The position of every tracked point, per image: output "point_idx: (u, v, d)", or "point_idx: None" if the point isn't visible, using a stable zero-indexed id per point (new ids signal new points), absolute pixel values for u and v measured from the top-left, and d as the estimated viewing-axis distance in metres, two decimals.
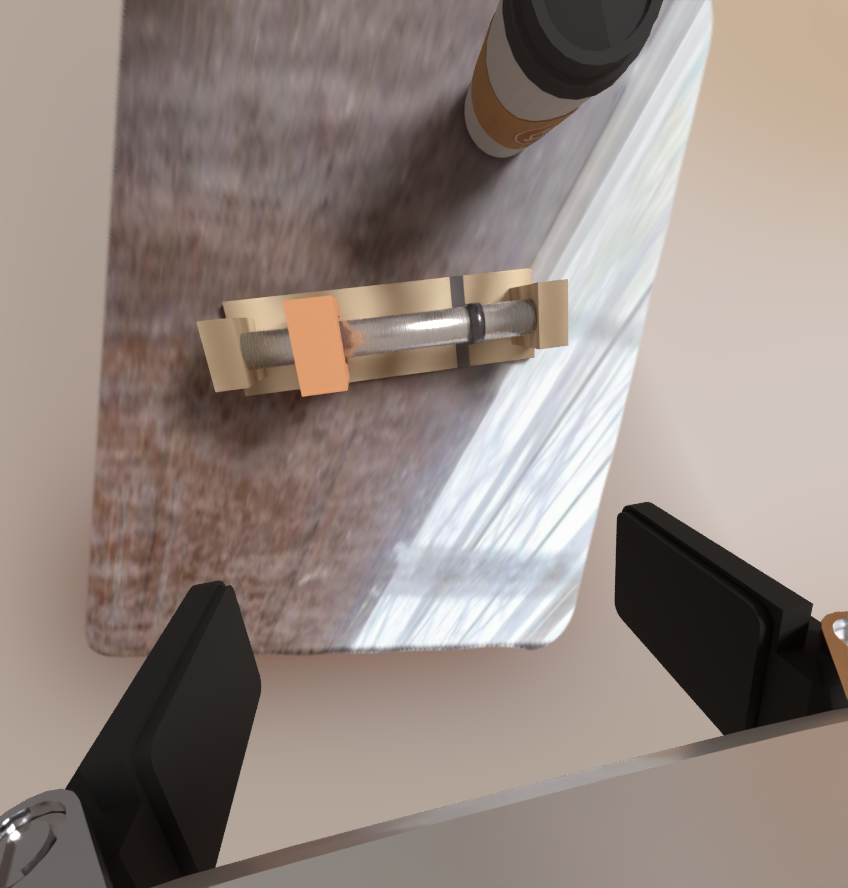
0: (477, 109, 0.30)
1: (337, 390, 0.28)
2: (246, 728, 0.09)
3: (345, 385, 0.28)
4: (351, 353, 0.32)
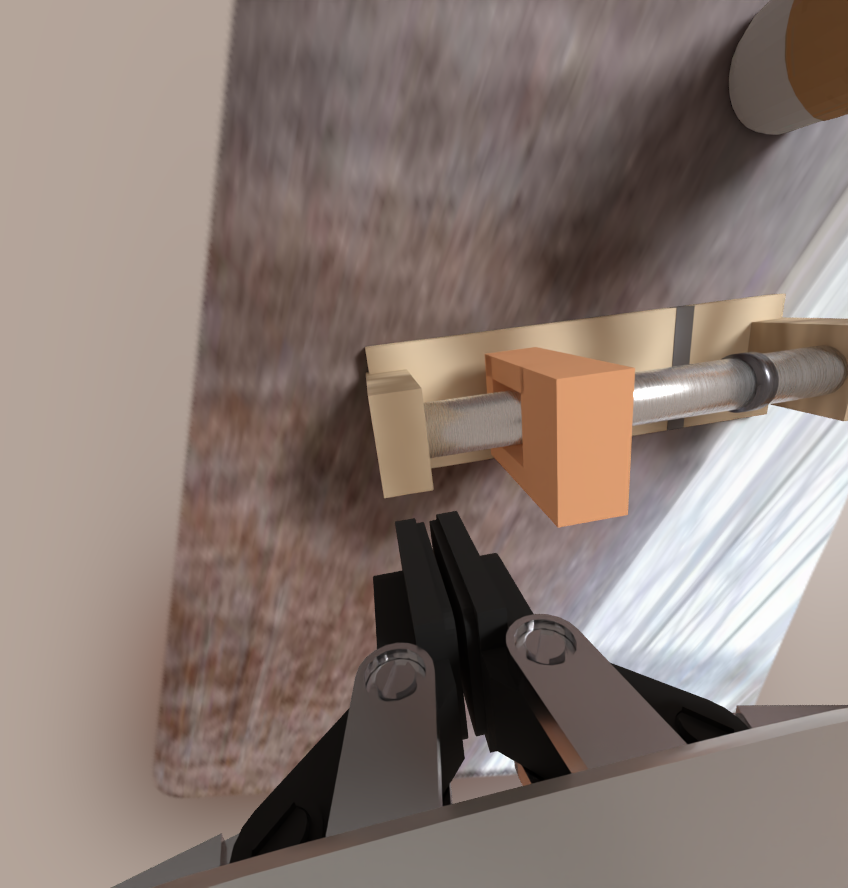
0: (799, 55, 0.19)
1: (612, 515, 0.17)
2: None
3: (626, 507, 0.17)
4: None
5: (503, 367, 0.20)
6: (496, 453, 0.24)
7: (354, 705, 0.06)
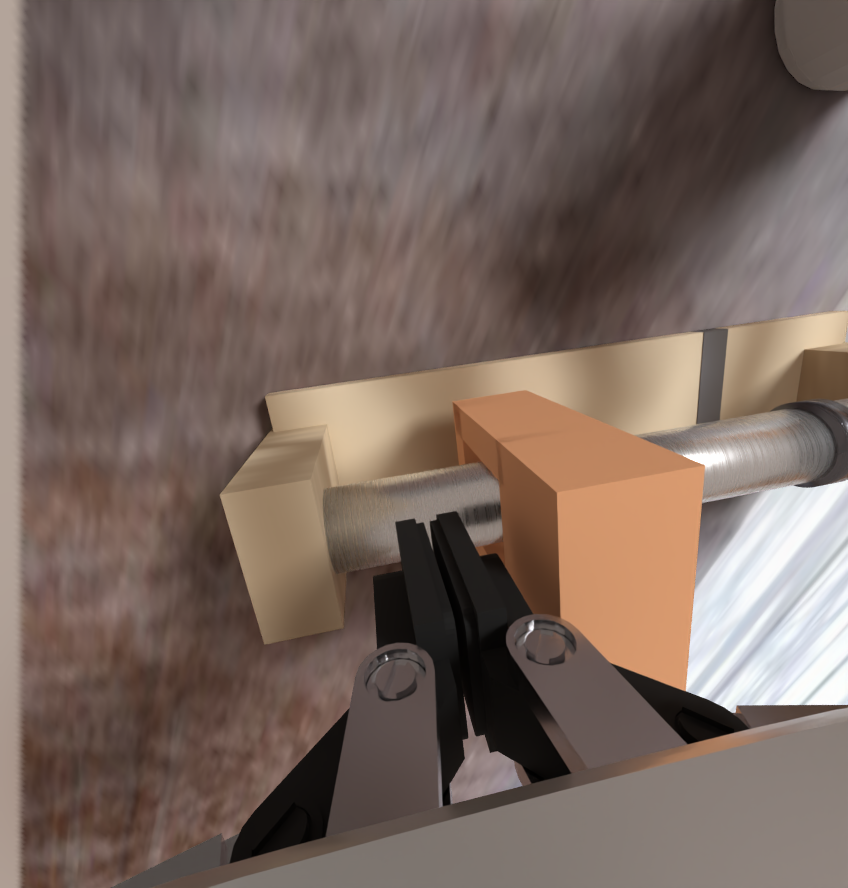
0: None
1: None
2: None
3: None
4: None
5: (474, 430, 0.13)
6: None
7: (354, 705, 0.06)
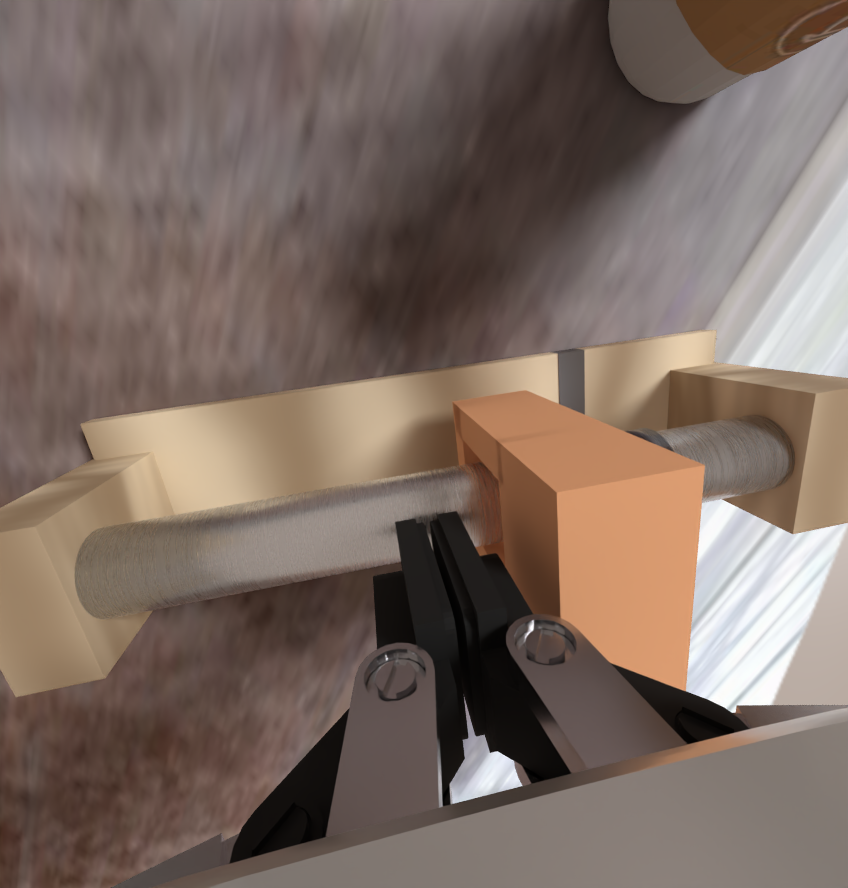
0: None
1: None
2: None
3: None
4: (363, 568, 0.13)
5: (474, 430, 0.13)
6: None
7: (354, 705, 0.06)
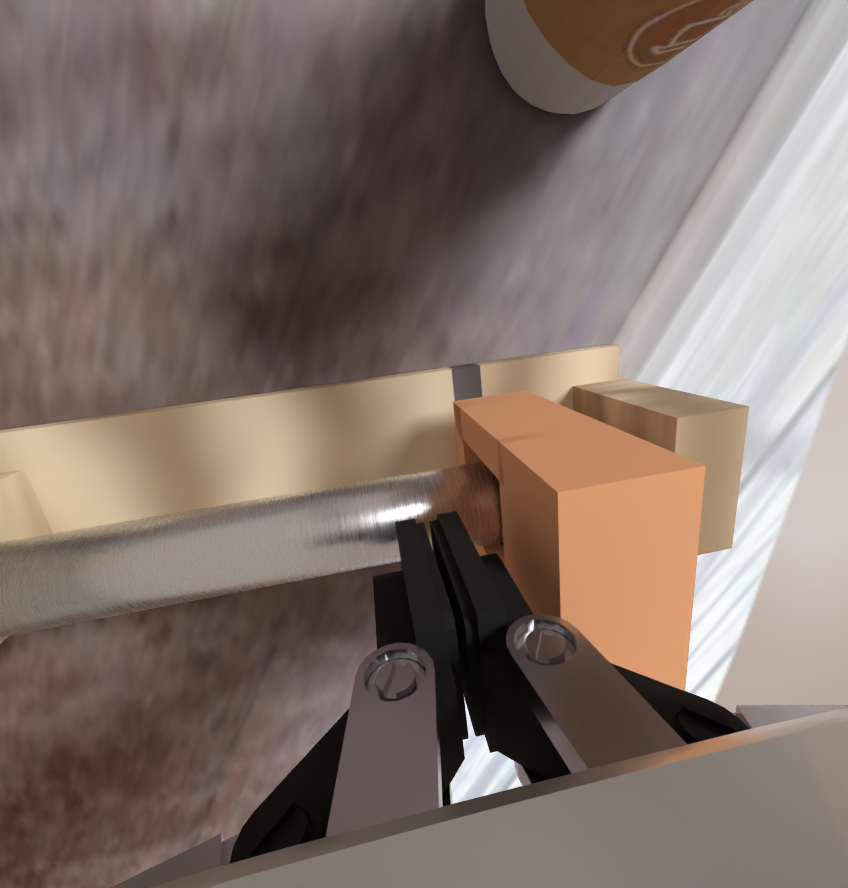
0: None
1: None
2: None
3: None
4: (208, 597, 0.13)
5: (475, 430, 0.13)
6: None
7: (354, 705, 0.06)
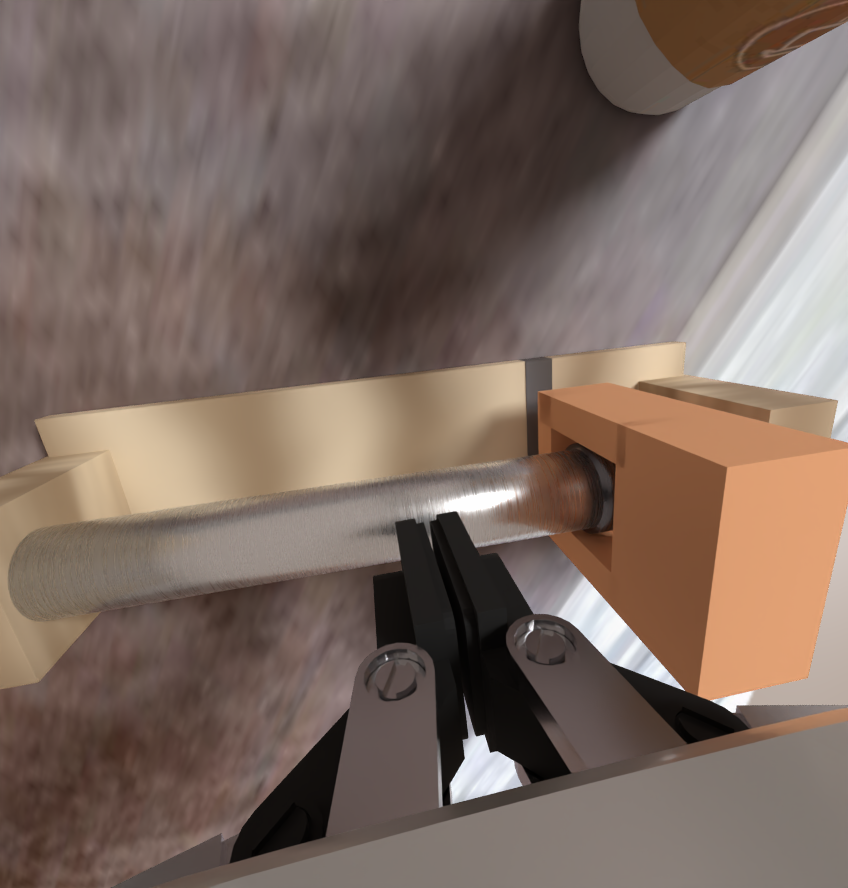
0: None
1: (784, 680, 0.10)
2: None
3: (807, 667, 0.10)
4: (310, 575, 0.13)
5: (577, 417, 0.14)
6: None
7: (354, 705, 0.06)
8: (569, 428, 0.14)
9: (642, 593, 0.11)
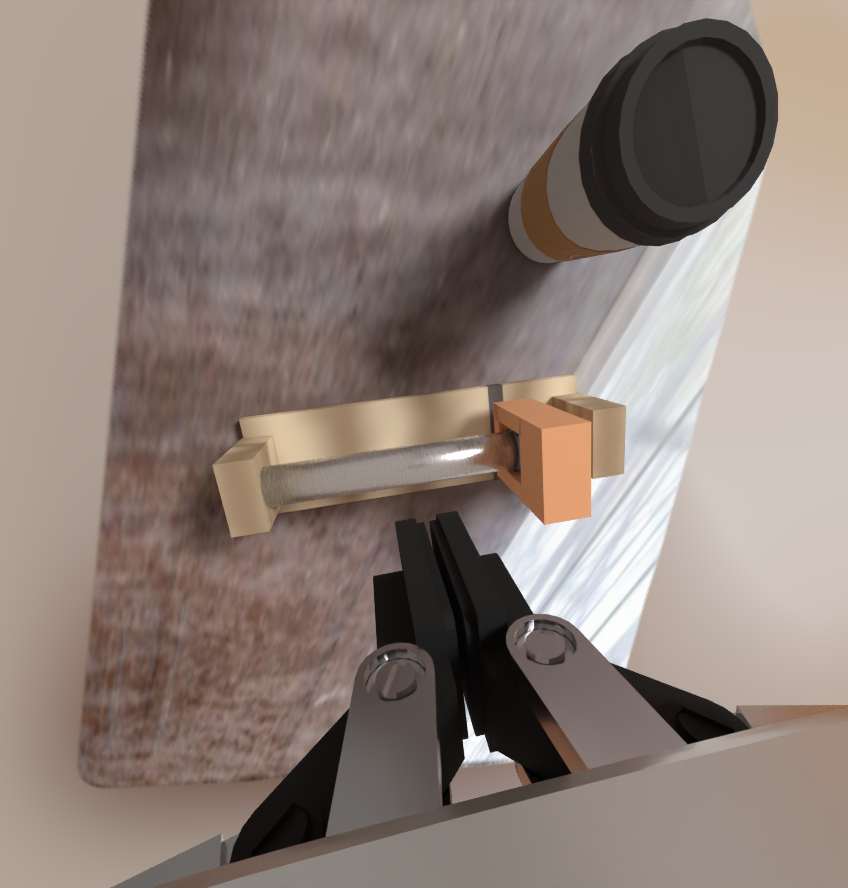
0: (527, 224, 0.27)
1: (580, 517, 0.25)
2: None
3: (589, 511, 0.25)
4: (384, 488, 0.28)
5: (507, 415, 0.29)
6: (501, 475, 0.33)
7: (354, 705, 0.06)
8: (504, 420, 0.30)
9: (529, 488, 0.27)
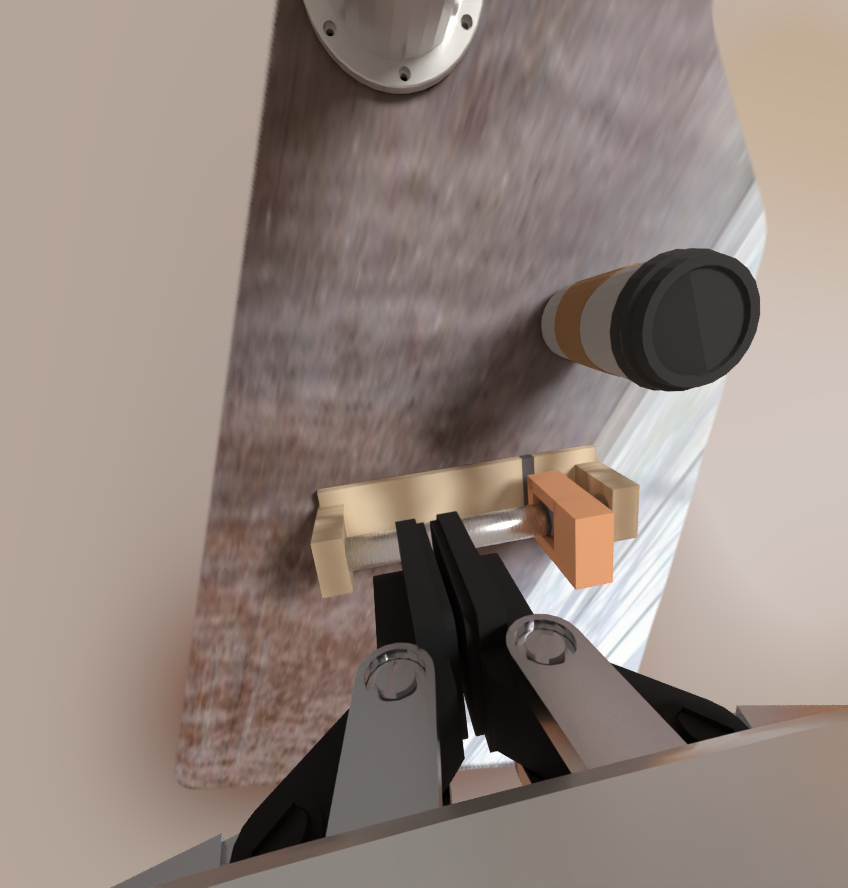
0: (560, 341, 0.33)
1: (604, 582, 0.32)
2: None
3: (611, 578, 0.32)
4: None
5: (541, 492, 0.35)
6: None
7: (354, 705, 0.06)
8: (539, 495, 0.36)
9: (562, 557, 0.33)
